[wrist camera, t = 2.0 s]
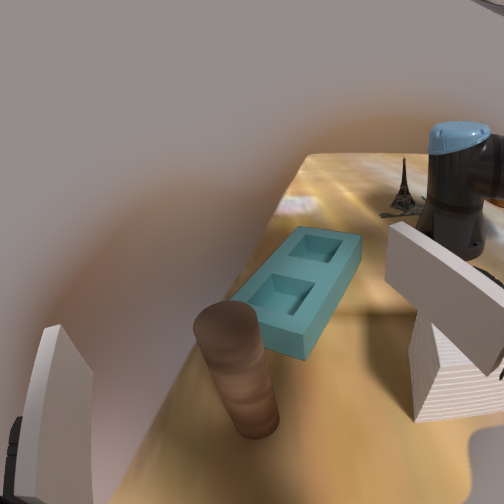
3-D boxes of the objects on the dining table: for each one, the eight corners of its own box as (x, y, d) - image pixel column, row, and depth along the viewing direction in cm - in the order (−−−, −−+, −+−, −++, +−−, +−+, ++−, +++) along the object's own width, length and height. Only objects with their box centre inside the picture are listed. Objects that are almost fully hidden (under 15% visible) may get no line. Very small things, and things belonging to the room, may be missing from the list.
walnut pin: (250, 396, 35) (218, 294, 27) (287, 411, 33) (269, 309, 24) (226, 427, 32) (180, 332, 24) (264, 445, 29) (232, 355, 21)
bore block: (301, 249, 61) (298, 225, 58) (361, 259, 55) (361, 235, 52) (228, 334, 45) (220, 309, 42) (305, 361, 38) (302, 334, 36)
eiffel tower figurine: (380, 220, 66) (380, 162, 60) (368, 202, 75) (367, 150, 68) (438, 215, 64) (442, 159, 57) (422, 198, 73) (423, 147, 66)
